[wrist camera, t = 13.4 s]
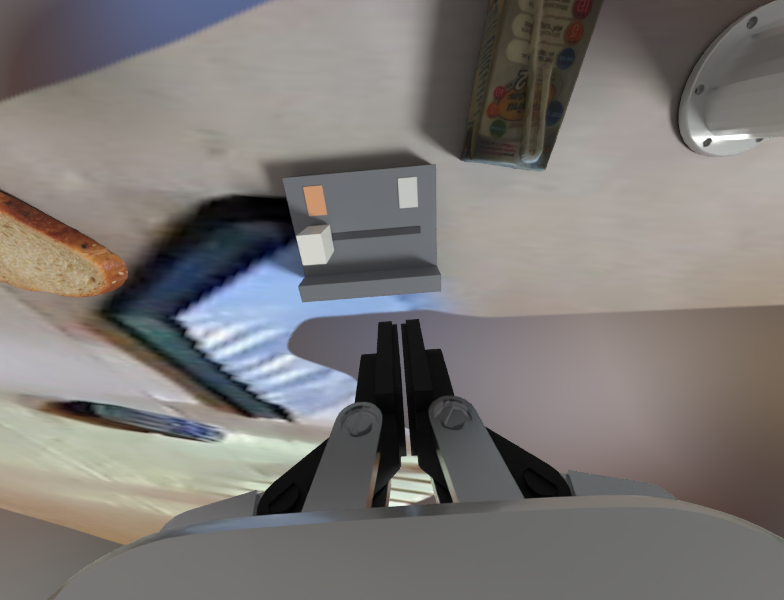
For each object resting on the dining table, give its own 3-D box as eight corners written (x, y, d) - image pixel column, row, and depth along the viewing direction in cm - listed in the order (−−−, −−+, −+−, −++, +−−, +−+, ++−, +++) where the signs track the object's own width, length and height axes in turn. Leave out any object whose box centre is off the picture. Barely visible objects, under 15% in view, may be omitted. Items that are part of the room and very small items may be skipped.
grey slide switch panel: (431, 164, 31) (440, 164, 26) (433, 272, 37) (441, 291, 31) (291, 176, 31) (271, 179, 26) (314, 282, 37) (302, 302, 32)
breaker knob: (329, 224, 30) (320, 233, 26) (334, 250, 32) (326, 263, 28) (307, 226, 31) (295, 236, 27) (313, 252, 32) (303, 265, 28)
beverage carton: (454, 162, 31) (469, 162, 25) (503, -96, 23) (544, -187, 17) (521, 171, 32) (552, 173, 26) (595, -79, 23) (665, -161, 17)
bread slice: (142, 282, 37) (118, 294, 34) (31, 313, 39) (-3, 327, 36) (32, 132, 30) (-13, 129, 26) (-100, 180, 31) (-159, 182, 28)
